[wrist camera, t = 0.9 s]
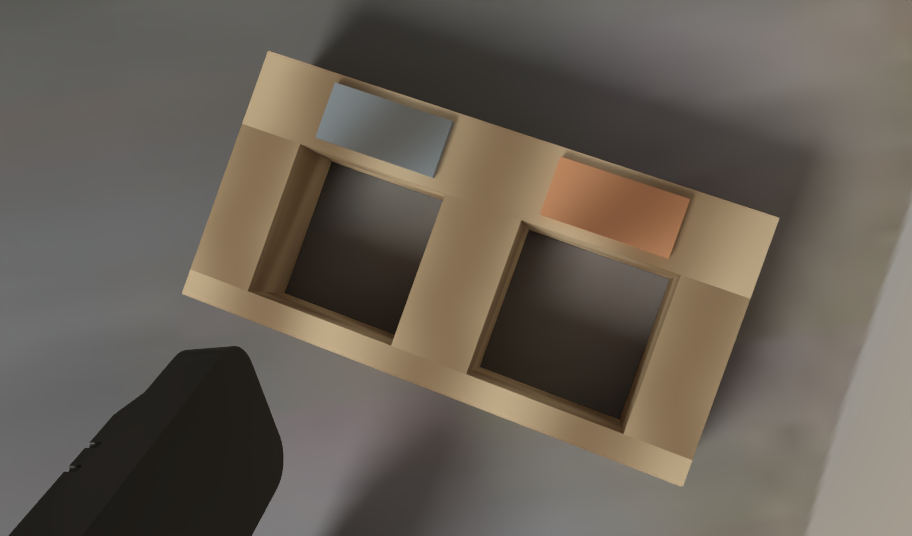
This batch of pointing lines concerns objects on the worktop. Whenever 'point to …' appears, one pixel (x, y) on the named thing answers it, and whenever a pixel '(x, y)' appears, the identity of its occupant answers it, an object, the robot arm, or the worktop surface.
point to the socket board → (481, 254)
